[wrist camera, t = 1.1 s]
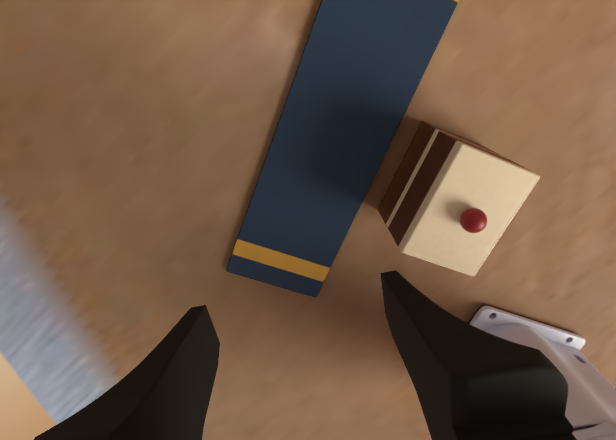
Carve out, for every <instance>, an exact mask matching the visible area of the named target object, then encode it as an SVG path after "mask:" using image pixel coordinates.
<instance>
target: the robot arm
mask: <svg viewBox="0 0 616 440" xmlns="http://www.w3.org/2000/svg"><path fill="white" fill-rule="evenodd" d="M381 281H382V289H383V297H384V306H385V314H386V317H387V320H388V324H389V327H390V330H391V333H392V336H393V339H394V341H395V343H396V346H397V348H398V350H399V352H400V355H401V357H402V359H403V361H404V364H405V366H406V368H407V370H408V373H409V375H410V377H411V379H412V382H413V384H414V387H415V389H416V392H417V395H418V398H419V401H420V404H421V407H422V410H423V413H424V416H425V419H426V422H427V425H428V429H429V432H430V435H431V438H432V440H616V388H615V387H614V386H613V385H612V384H611V383H610V382H609V381H608V380H607V379H606V378H605V377H604V376H603V375H602V373H601V372H600V371H599V370H598V369H597V368H596V367H595V366H594V365H593V364H592V363H591V362H590V361H589V360H588V359H587V358H586V357H585V356H584V355H583V354H582V353H581V352H580V349H581V348H582V346H583V345H584V344H585V339H584V338H583V337H582V336H581V335H578V334H575V333H571V332H568V331H565V330H562V329H559V328H556V327H553V326H550V325H547V324H543V323H540V322H537V321H534V320H531V319H528V318H525V317H522V316H518V315H515V314H512V313H509V312H506V311H503V310H500V309H497V308H494V307H490V306H483V307H481V308H480V309H479V310H478V312H477V313H476V315H475V316H474V318H473V319H472V320H471V322H470V323H469V324H468V323H466V322H464V321H462V320H460V319H459V318H457V317H455V316H453V315H452V314H450V313H448V312H447V311H445V310H444V309H442V308H441V307H439V306H438V305H437V304H435V303H434V302H432V301H431V300H430V299H428V298H427V297H426V296H425V295H423V294H422V293H421V292H420V291H418V290H417V289H416V288H415V287H414V286H413V285H411V284H410V283H409V282H408V281H407V280H406V279H405V278H404V277H403V276H402V275H401V274H400V273H399V272H397V271H396V270H395V271H390V272H384V273H381ZM492 313H493V314H492ZM491 314H492V315H491ZM219 347H220V342H219V340H218V337H217V334H216V331H215V329H214V326H213V323H212V321H211V318H210V315H209V313H208V310H207V307H206V305H203V306H198V307H192V308H190V309H189V311H188V312H187V313H186V314H185V315H184V316H183V317H182V318H181V319H180V321H179V322H178V323H177V324H176V325H175V326H174V328H173V329H172V330H171V331H170V332H169V333H168V334H167V336H166V337H165V338H164V339H163V340H162V341H161V342H160V343H159V344H158V345H157V346H156V347H155V349H154V350H153V351H152V352H151V353H150V354H149V355H148V356H147V357H146V358H145V359H144V360H143V361H142V362H141V363H140V364H139V365H138V366H137V367H136V368H134V369H133V370H132V371H131V372H130V373H129V374H128V375H127V376H125V377H124V378H123V379H122V380H121V381H120V382H118V383H117V384H116V385H114V386H113V387H112V388H111V389H109V390H108V391H107V392H105V393H104V394H103V395H102V396H100V397H99V398H98V399H96V400H95V401H93V402H92V403H90V404H89V405H88V406H86V407H85V408H83V409H82V410H80V411H79V412H77V413H76V414H74V415H72V416H71V417H69V418H68V419H66V420H64V421H63V422H61V423H59V424H58V425H56V426H54V427H52V428H51V429H49V430H47V431H45V432H44V433H42V434H40V435H38V436H37V437H35V439H34V440H202V434H203V427H204V422H205V417H206V413H207V409H208V405H209V401H210V397H211V392H212V388H213V384H214V380H215V376H216V371H217V367H218V358H219Z"/></svg>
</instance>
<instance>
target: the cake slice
mask: <svg viewBox="0 0 616 440" xmlns="http://www.w3.org/2000/svg"><path fill="white" fill-rule="evenodd" d="M539 178H540V176H539V175H538V174H536V173H534V172H532V171H530V170H528V169H526V168H524V167H523V166H521V165H519V164H517V163H515V162H513V161H511V160H509V159H507V158H505V157H503V156H501V155H499V154H497V153H496V152H494V151H492V150H490V149H488V148H486V147H484V146H481V145H479V144H476V143H474V142H472V141H469V140H467V139H465V138H462V137H460V136H457V135H455V134H453V133H450V132H448V131H445V130H443V129H441V128H438V127H436V126H433V125H431V124H429V123H426V122H424V121H422V123H421V125H420V127H419V129H418V131H417V133H416V135H415V137H414V139H413V141H412V143H411V145H410V147H409V149H408V150H407V152H406V154H405V156H404V158H403V160H402V162H401V164H400V166H399V168H398V170H397V172H396V174H395V176H394V178H393V180H392V182H391V184H390V186H389V188H388V190H387V192H386V194H385V196H384V198H383V200H382V202H381V204H380V206H379V208H378V211H379V213H380V215H381V216H382V218H383V220H384V222H385V224H386V226H387V227H388V229H389V231H390V233H391V234H392V236H393V238H394V240H395V242H396V244H397V245H398V246H399V249H400V251H401V252H402V253H404V254H407V255H410V256H413V257H416V258H419V259H422V260H425V261H428V262H431V263H434V264H437V265H440V266H443V267H446V268H449V269H452V270H455V271H458V272H461V273H464V274H467V275H470V276H473V277H474V276H475V275H476V273H477V272H478V270H479V269H480V267H481V266H482V264H483V263H484V261H485V259H486V258H487V256H488V255H489V253H490V252H491V250H492V249H493V247H494V246H495V244H496V243H497V241H498V240H499V238H500V237H501V235H502V234H503V232H504V231H505V229H506V228H507V226H508V225H509V223H510V222H511V220H512V219H513V217H514V216H515V214H516V213H517V211H518V210H519V208H520V207H521V205H522V204H523V202H524V201H525V199H526V198H527V196H528V195H529V193H530V192H531V190H532V189H533V187H534V186H535V184H536V183H537V181H538V180H539Z"/></svg>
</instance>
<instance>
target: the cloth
mask: <svg viewBox="0 0 616 440" xmlns="http://www.w3.org/2000/svg"><path fill="white" fill-rule="evenodd" d="M458 1H459V0H322V1H321V4H320V7H319V10H318V12H317V15H316V18H315V21H314V24H313V27H312V29H311V32H310V35H309V38H308V41H307V44H306V46H305V49H304V52H303V55H302V58H301V60H300V63H299V66H298V69H297V72H296V75H295V77H294V80H293V83H292V86H291V89H290V91H289V94H288V97H287V100H286V103H285V106H284V108H283V111H282V114H281V117H280V120H279V123H278V125H277V128H276V131H275V134H274V137H273V139H272V142H271V145H270V148H269V151H268V154H267V156H266V159H265V162H264V165H263V168H262V170H261V173H260V176H259V179H258V182H257V185H256V187H255V190H254V193H253V196H252V199H251V202H250V204H249V207H248V210H247V213H246V216H245V218H244V221H243V224H242V227H241V230H240V233H239V235H238V238H237V241H236V244H235V247H234V249H233V252H232V255H231V258H230V261H229V264H228V266H227V269H226V271H227V272H231V273H234V274H238V275H241V276H244V277H248V278H251V279H255V280H258V281H261V282H265V283H268V284H272V285H275V286H278V287H282V288H285V289H289V290H292V291H295V292H299V293H302V294H306V295H309V296H312V297H316V296H317V294H318V292H319V290H320V288H321V286H322V284H323V282H324V280H325V278H326V276H327V274H328V272H329V269H330V267H331V265H332V263H333V261H334V259H335V257H336V255H337V253H338V251H339V248H340V246H341V244H342V242H343V240H344V238H345V236H346V234H347V232H348V230H349V228H350V226H351V224H352V221H353V219H354V217H355V215H356V213H357V211H358V209H359V207H360V205H361V203H362V201H363V199H364V197H365V194H366V192H367V190H368V188H369V186H370V184H371V182H372V180H373V178H374V176H375V174H376V172H377V170H378V167H379V165H380V163H381V161H382V159H383V157H384V155H385V153H386V151H387V149H388V147H389V145H390V143H391V140H392V138H393V136H394V134H395V132H396V130H397V128H398V126H399V124H400V122H401V120H402V118H403V116H404V113H405V111H406V109H407V107H408V105H409V103H410V101H411V99H412V97H413V95H414V93H415V91H416V88H417V86H418V84H419V82H420V80H421V78H422V76H423V74H424V72H425V70H426V68H427V66H428V64H429V61H430V59H431V57H432V55H433V53H434V51H435V49H436V47H437V45H438V43H439V41H440V39H441V37H442V34H443V32H444V30H445V28H446V26H447V24H448V22H449V20H450V18H451V16H452V14H453V12H454V10H455V7H456V5H457V3H458Z"/></svg>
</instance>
